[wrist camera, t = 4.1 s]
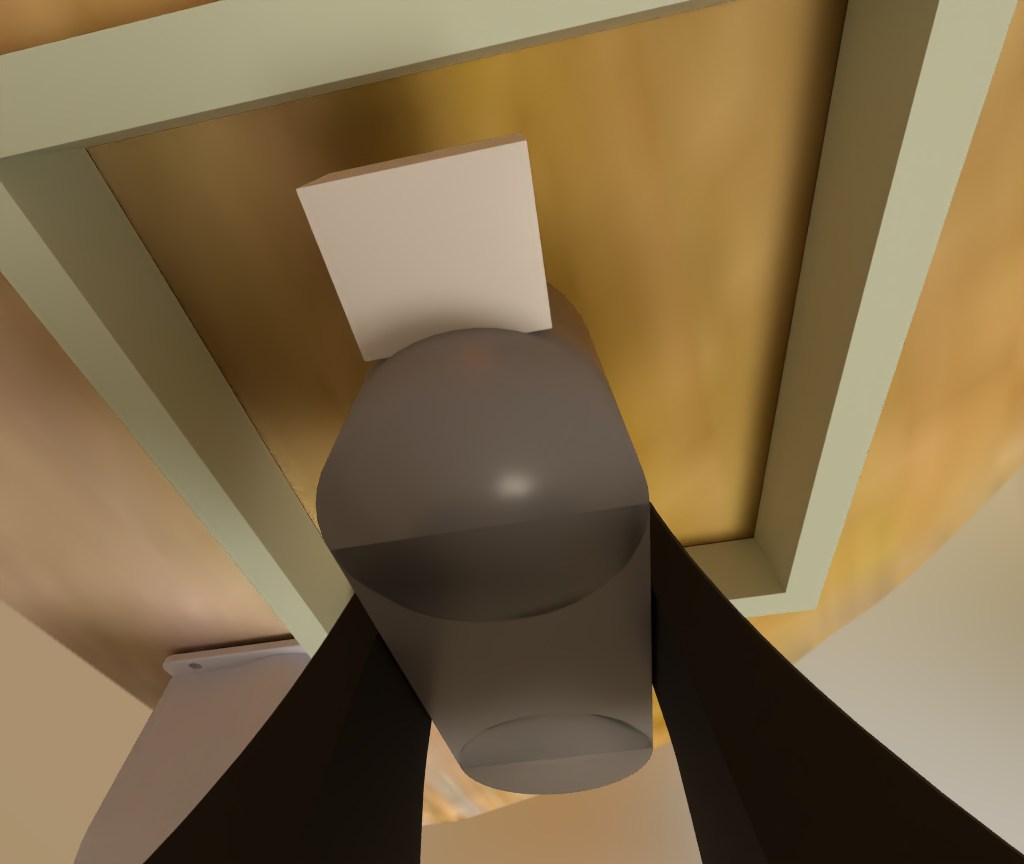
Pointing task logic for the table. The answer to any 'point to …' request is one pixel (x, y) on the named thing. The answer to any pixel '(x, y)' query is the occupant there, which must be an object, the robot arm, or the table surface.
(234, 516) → the sage frame
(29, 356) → the table surface
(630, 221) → the table surface
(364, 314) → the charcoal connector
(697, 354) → the table surface
